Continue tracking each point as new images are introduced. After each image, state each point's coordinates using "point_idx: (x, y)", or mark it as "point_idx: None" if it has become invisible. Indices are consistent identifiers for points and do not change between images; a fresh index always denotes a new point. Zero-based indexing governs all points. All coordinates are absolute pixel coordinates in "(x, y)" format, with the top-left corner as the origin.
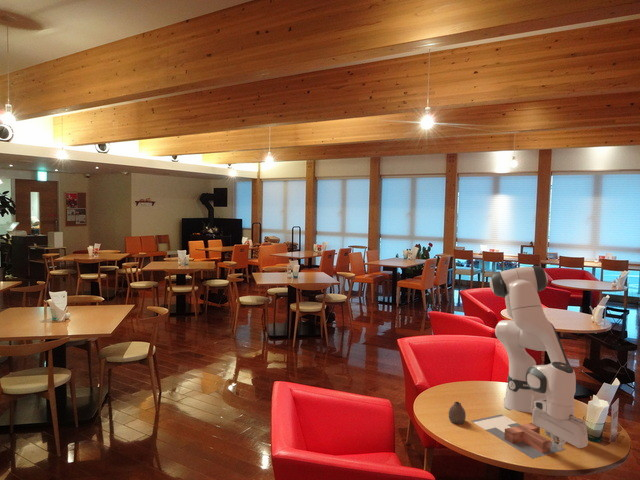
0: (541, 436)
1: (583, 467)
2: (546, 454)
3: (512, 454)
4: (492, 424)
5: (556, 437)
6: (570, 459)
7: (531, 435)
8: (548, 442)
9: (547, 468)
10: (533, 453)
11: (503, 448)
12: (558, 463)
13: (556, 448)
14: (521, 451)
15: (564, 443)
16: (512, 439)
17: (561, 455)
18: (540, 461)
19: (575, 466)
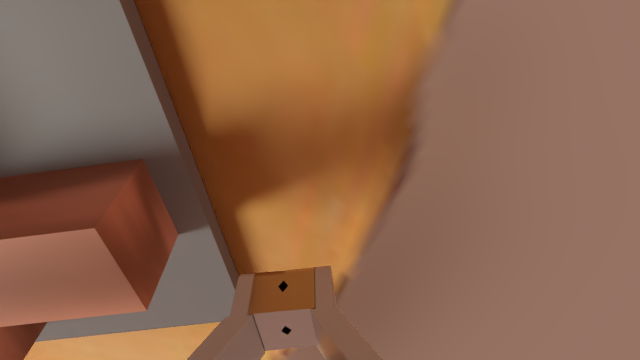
0: (3, 258)
1: (424, 25)
2: (204, 220)
3: (164, 343)
4: None
5: (219, 354)
6: (270, 34)
7: (2, 321)
8: (117, 237)
9: (340, 278)
10: (184, 284)
11: (93, 349)
12: (306, 183)
13: (87, 63)
14: (156, 326)
15: (351, 324)
16: (27, 352)
17: (188, 65)
18: (258, 267)
19: (384, 87)
